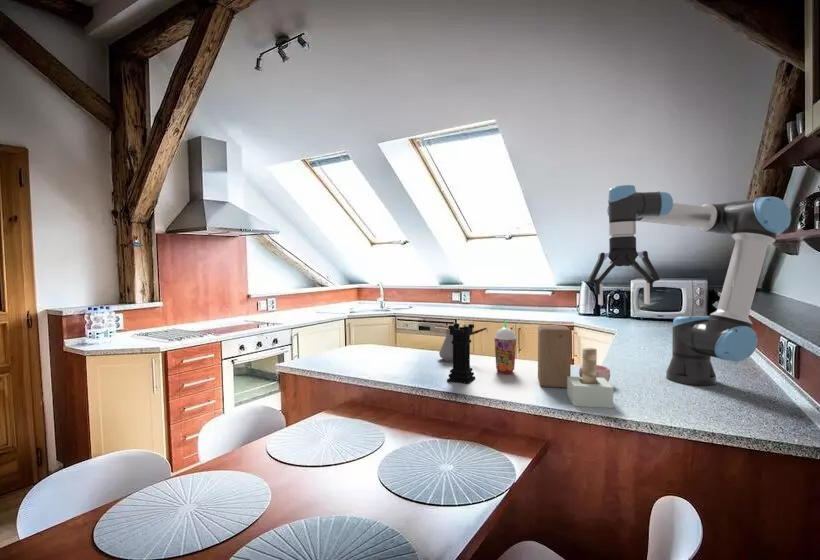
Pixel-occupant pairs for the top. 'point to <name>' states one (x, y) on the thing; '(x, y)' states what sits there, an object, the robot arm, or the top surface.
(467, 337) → the chess piece
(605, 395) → the socket block
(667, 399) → the top surface
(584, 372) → the birch peg
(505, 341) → the smoothie
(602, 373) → the mug
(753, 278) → the robot arm
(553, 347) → the wooden block
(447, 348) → the coffee pot
